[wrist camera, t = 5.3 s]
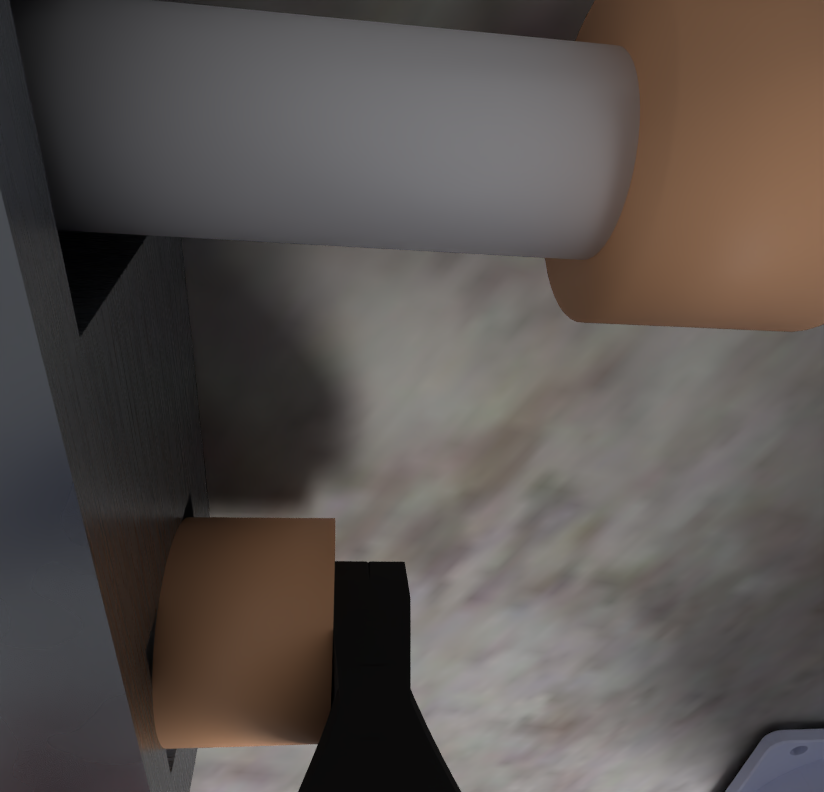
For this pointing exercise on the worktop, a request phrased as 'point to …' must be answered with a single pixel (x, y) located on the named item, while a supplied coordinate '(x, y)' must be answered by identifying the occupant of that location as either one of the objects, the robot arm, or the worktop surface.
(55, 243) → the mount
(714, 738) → the worktop surface
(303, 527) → the knob
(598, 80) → the knob
